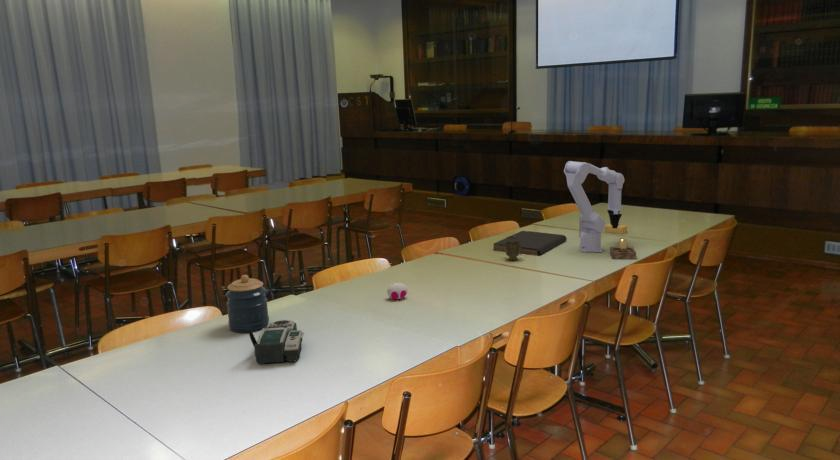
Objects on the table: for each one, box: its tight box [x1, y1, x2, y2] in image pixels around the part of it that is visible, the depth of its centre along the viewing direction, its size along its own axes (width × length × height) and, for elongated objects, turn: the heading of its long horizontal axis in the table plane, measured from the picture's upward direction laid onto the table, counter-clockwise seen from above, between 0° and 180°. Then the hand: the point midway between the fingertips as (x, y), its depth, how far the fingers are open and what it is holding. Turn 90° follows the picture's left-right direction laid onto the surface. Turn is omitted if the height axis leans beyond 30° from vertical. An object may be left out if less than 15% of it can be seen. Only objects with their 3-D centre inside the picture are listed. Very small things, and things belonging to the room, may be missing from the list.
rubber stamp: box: [603, 212, 628, 235], centre depth 325 cm, size 10×6×12 cm, turn 48°
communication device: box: [247, 319, 305, 365], centre depth 188 cm, size 14×28×10 cm, turn 6°
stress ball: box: [386, 282, 408, 300], centre depth 229 cm, size 8×8×7 cm
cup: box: [504, 241, 521, 261], centre depth 278 cm, size 8×7×8 cm
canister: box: [225, 274, 270, 334], centre depth 205 cm, size 13×13×18 cm
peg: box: [618, 237, 628, 252], centre depth 277 cm, size 3×3×8 cm
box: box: [609, 246, 637, 260], centre depth 278 cm, size 10×10×3 cm
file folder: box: [492, 230, 568, 256], centre depth 304 cm, size 33×4×24 cm
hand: (614, 226), depth 295 cm, fingers open, 7 cm apart
